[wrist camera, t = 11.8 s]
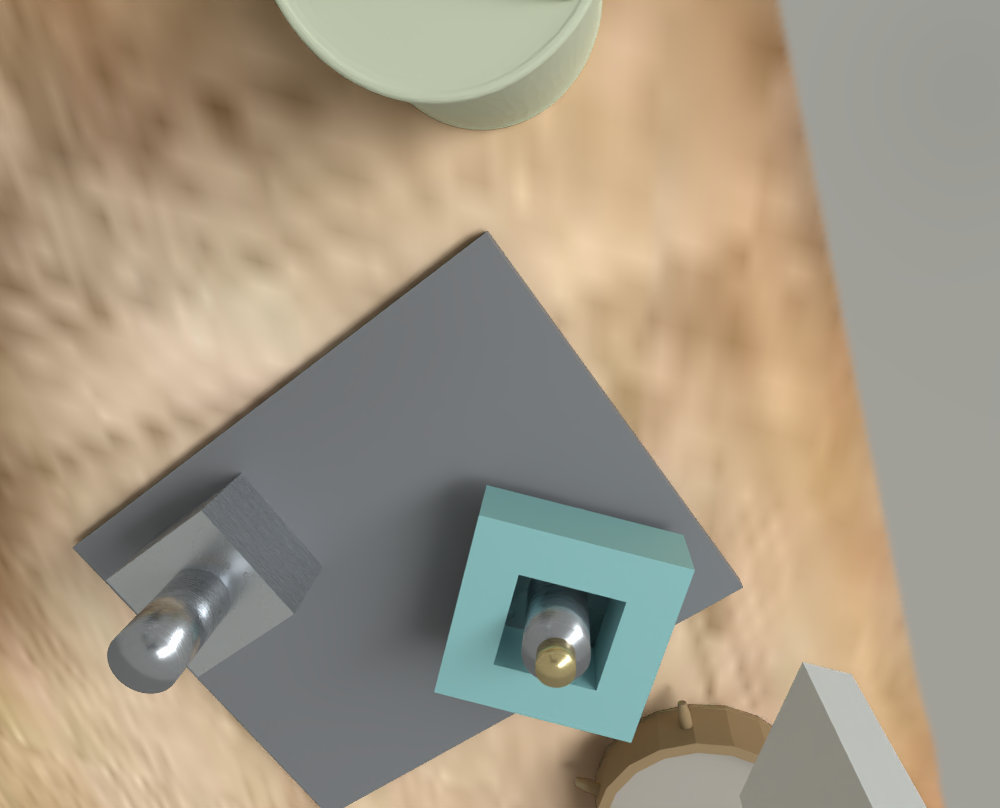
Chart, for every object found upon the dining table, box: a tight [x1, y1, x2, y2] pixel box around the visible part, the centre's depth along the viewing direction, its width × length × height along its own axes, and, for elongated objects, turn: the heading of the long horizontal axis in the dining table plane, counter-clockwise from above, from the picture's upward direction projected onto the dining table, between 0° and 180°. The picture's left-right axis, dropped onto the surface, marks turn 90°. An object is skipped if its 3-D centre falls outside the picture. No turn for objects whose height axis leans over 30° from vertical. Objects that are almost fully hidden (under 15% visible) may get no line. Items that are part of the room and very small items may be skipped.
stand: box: [106, 473, 323, 694], centre depth 32 cm, size 6×6×8 cm
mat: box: [73, 231, 743, 808], centre depth 36 cm, size 20×26×1 cm
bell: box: [505, 508, 610, 688], centre depth 32 cm, size 8×8×6 cm
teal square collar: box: [434, 485, 695, 743], centre depth 32 cm, size 9×9×3 cm
